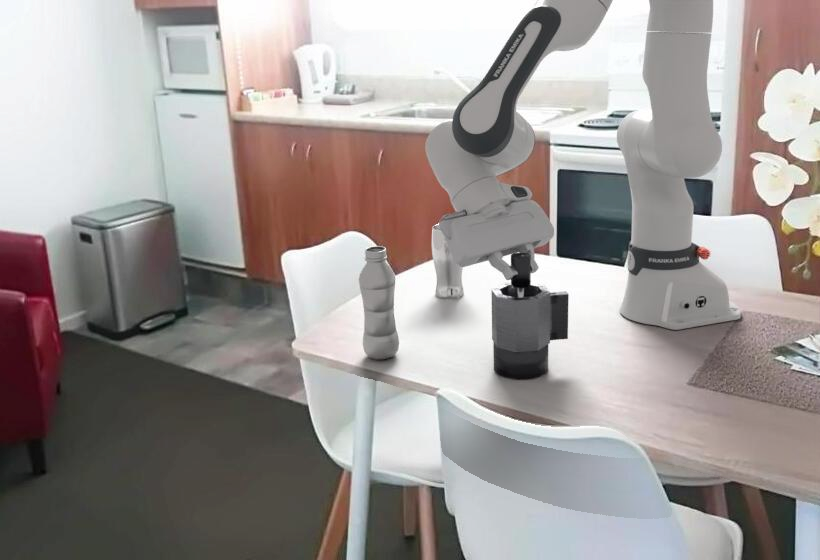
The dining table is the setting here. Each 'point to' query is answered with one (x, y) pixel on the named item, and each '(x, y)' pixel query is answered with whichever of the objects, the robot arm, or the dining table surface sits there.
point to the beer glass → (445, 268)
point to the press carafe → (526, 329)
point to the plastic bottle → (378, 305)
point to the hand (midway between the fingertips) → (523, 274)
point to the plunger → (521, 272)
